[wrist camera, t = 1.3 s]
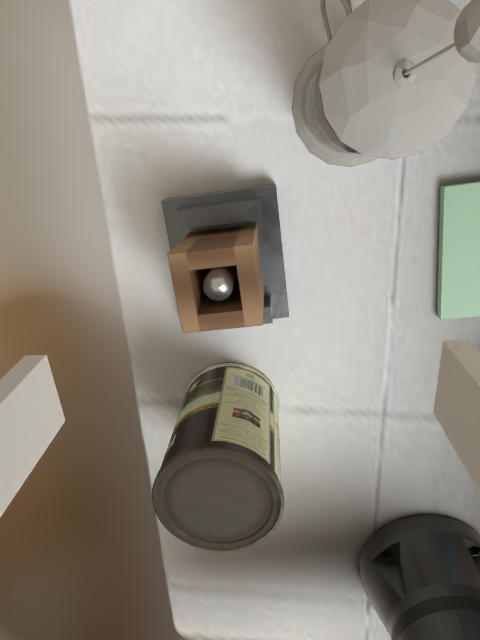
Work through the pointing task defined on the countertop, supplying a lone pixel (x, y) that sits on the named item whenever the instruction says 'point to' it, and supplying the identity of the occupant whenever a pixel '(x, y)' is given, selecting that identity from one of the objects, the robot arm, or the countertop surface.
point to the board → (459, 251)
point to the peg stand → (231, 212)
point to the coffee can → (223, 462)
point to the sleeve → (210, 252)
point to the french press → (388, 80)
